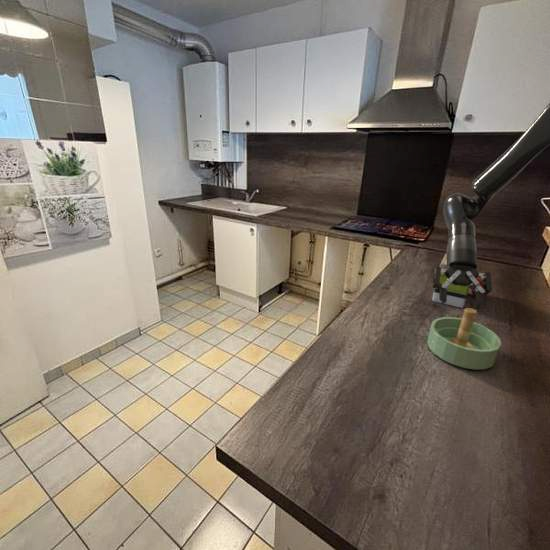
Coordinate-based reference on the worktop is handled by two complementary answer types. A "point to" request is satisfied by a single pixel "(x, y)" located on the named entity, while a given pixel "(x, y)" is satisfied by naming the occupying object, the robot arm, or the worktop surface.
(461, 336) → the brown round-based rod
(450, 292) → the tea box
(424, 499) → the worktop surface
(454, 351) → the bowl
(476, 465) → the worktop surface
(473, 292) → the red bell pepper
